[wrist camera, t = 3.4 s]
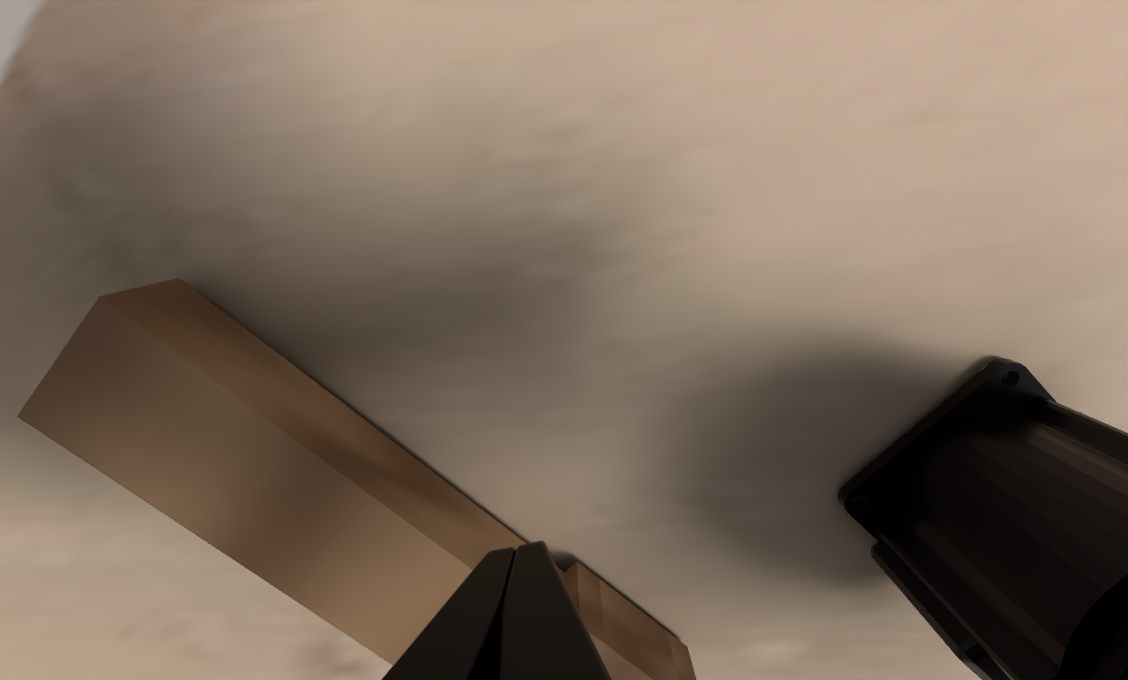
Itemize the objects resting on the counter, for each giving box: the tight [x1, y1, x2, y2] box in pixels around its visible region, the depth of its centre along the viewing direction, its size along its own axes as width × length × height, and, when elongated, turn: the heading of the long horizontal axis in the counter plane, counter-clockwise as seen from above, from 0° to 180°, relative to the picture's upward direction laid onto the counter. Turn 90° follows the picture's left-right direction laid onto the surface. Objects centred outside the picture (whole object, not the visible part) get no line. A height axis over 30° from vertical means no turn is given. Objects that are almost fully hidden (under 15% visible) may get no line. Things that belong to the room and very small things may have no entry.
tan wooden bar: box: [17, 278, 696, 680], centre depth 15 cm, size 20×5×3 cm, turn 47°
